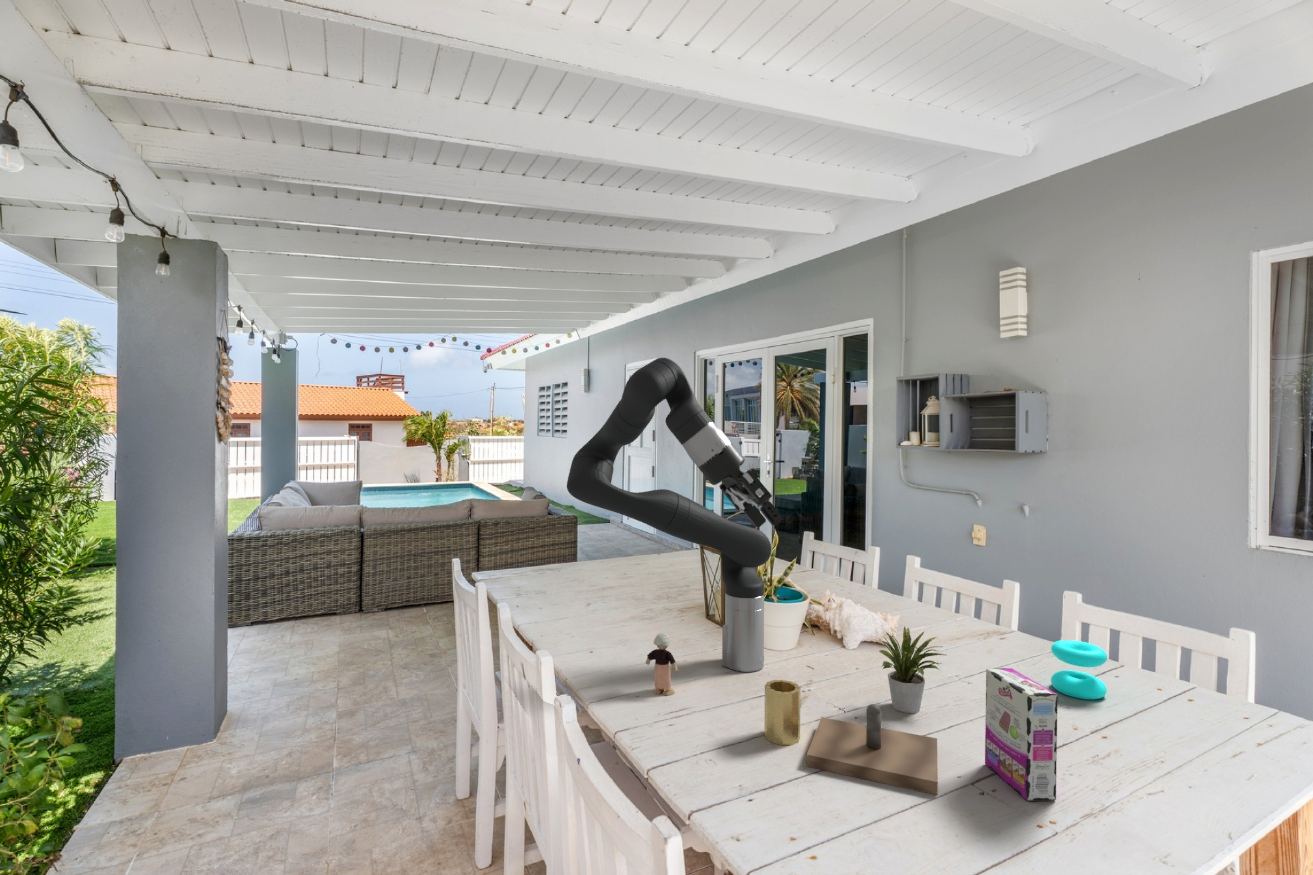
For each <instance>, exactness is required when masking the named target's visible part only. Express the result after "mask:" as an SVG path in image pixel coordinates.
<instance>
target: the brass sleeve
mask: <svg viewBox="0 0 1313 875" xmlns="http://www.w3.org/2000/svg"><path fill="white" fill-rule="evenodd" d="M763 735H764V737H765V739H766V740H767V741H768V742H771V743H772V744H776V745H781V746H789V745H791V746H793V745H794V744H797V743H799V741H800V740H801V686H799V685H798V684H797V683H795V682H793V681H791V680H785V679H772V680H769V681H767V682H766V683H765V685H764V734H763Z"/></svg>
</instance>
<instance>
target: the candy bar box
mask: <svg viewBox="0 0 1313 875" xmlns="http://www.w3.org/2000/svg"><path fill="white" fill-rule="evenodd" d="M985 672H986V673H985V674H986V675H985V676H986V677H985V678H986V679H985V735H984V736H985V739H984V742H985V743H984V764H985V766H986V767H988V768H989V769H990V770H991V771H992V772H994V774H996V775H997V776H998V777H999V778H1000V779H1001V780H1003V781H1004V782H1005V783H1006V784H1007V785H1009V786H1010V787H1011V788H1012V789H1013V790H1014V791H1016V792H1017V793H1018V794H1019V795H1020V796H1022V797H1023V798H1024V800H1026V801H1027V802H1040V801H1042V802H1044V801H1048V802H1050V801H1056V800H1057V759H1058V758H1057V754H1058V753H1057V752H1058V750H1057V749H1058V748H1057V747H1058V745H1057V743H1058V700H1059V698H1058V693H1056V692H1054V691H1052V690H1050V689H1048V688H1047V687H1045V685H1042V684H1041V683H1039V682H1036V681H1035V680H1033V679H1031V678H1029V677H1028V676H1026V675H1024V674H1022V673H1021V672H1019V671H1017V670H1015V669H1014V668H1012V667H1008V668H1007V667H1001V668H986V669H985Z"/></svg>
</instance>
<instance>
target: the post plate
mask: <svg viewBox="0 0 1313 875" xmlns="http://www.w3.org/2000/svg"><path fill="white" fill-rule="evenodd" d="M865 723H866V725H865V724H861V723H855V722H852V721H851V722H850V721H845V720H839V719H834V718H829V717H824V716H821V717H820V719H819V723H818V724H817V728H816V730H815V732H814V735H813V738H812V741H811V742H810V744H809V748H808V750H807V753H806V767H808V768H813V769H816V770H817V769H818V770H821V771H825V772H830V773H834V774H839V775H844V776H849V777H854V778H859V779H863V780H867V781H872V782H878V783H880V784H886V785H890V786H894V787H899V788H902V789H903V788H904V789H909V790H912V791H918V792H922V793H928V794H932V795H937V796H938V792H939V791H938V790H939V789H938V787H939V785H938V784H939V783H938V782H939V781H938V779H939V777H938V772H939V771H938V770H939V769H938V768H939V767H938V738H937V737H932V736H928V735H926V736H925V735H921V734H914V733H909V732H904V731H901V730H900V731H899V730H892V729H889V728H883V727H882V710H881V707H880V706H879V705H878V704H876V703H871V704H869V705H868V706H867V708H866V722H865Z"/></svg>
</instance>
